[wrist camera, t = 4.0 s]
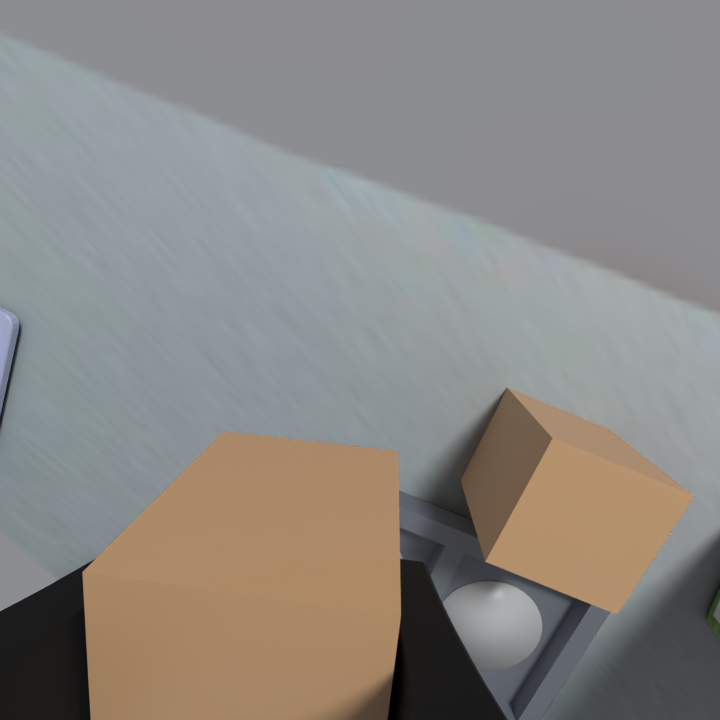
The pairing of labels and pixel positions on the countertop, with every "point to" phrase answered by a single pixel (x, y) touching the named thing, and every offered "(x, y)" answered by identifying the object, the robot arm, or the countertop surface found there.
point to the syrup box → (715, 615)
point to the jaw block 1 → (252, 589)
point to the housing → (499, 611)
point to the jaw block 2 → (568, 502)
